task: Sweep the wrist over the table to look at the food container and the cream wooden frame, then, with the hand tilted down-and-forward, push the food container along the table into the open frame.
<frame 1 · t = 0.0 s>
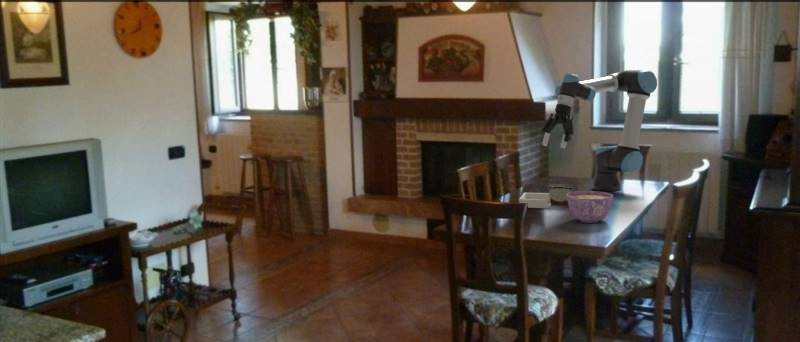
hand: (553, 146, 367), 28 cm above the table, tool tilted 20°, fingers open, 13 cm apart
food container: (561, 205, 365), on the table
bowl of food: (589, 221, 328), on the table
frame: (536, 204, 368), on the table
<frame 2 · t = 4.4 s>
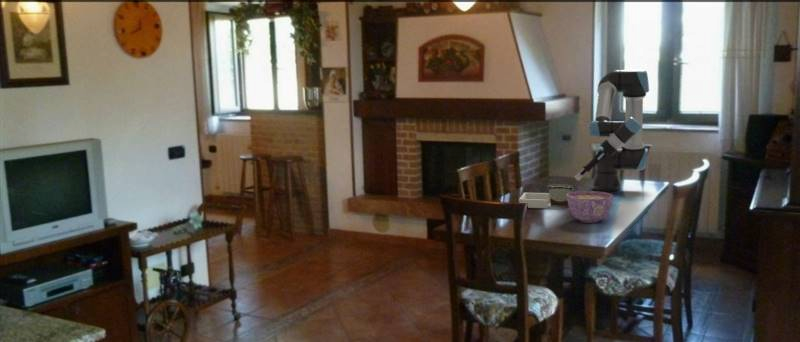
hand: (576, 178, 361), 13 cm above the table, tool tilted 45°, fingers closed
nothing on the table moved.
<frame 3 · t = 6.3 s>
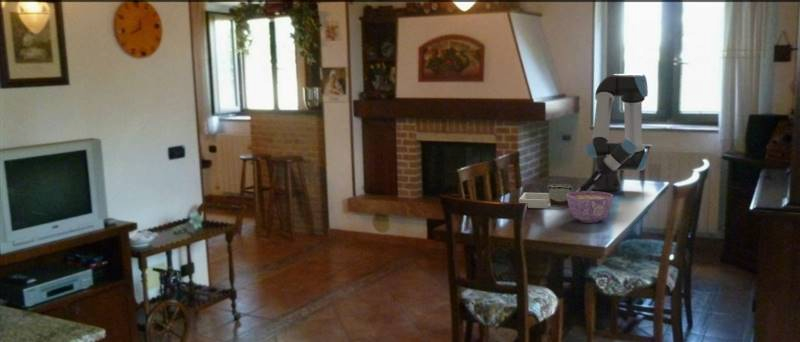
hand: (572, 198, 363), 3 cm above the table, tool tilted 45°, fingers closed
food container: (560, 205, 365), on the table, touching gripper
everything else where it was.
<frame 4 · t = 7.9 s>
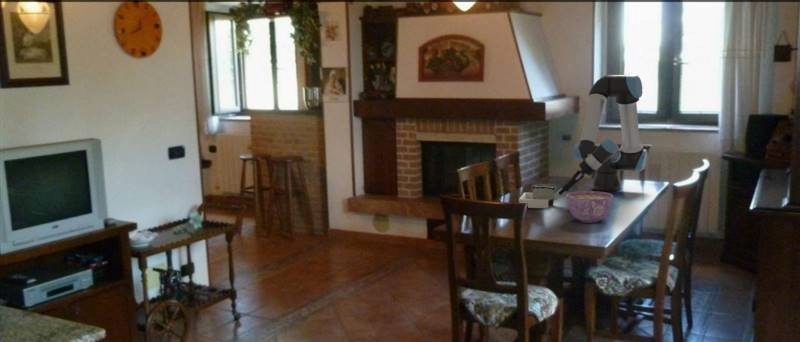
hand: (554, 198, 365), 3 cm above the table, tool tilted 45°, fingers closed
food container: (545, 205, 366), on the table
everything else where it was.
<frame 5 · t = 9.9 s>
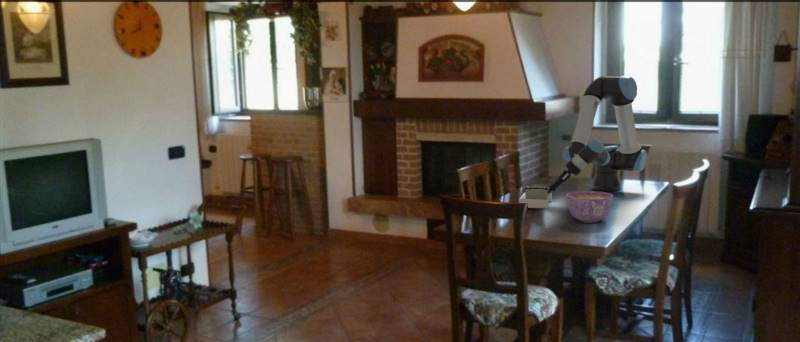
hand: (541, 197, 367), 3 cm above the table, tool tilted 45°, fingers closed
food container: (536, 205, 366), on the table
everything else where it was.
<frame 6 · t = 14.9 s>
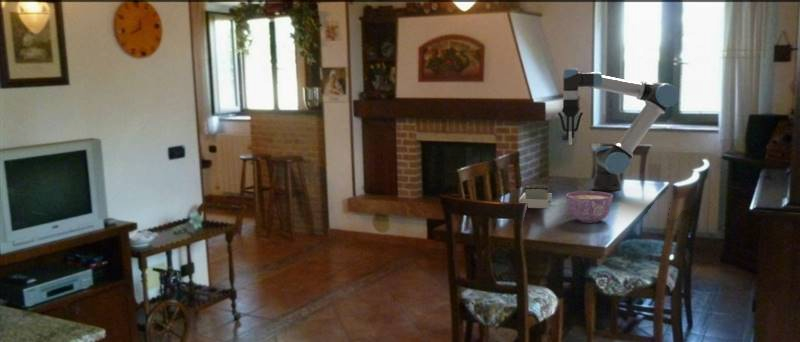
hand: (570, 144, 389), 26 cm above the table, tool pointing down, fingers closed
nothing on the table moved.
at the end: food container inside the target area on the frame (2.7 cm from its centre), point 0.0 cm above the frame's base; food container tilted 0° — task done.
